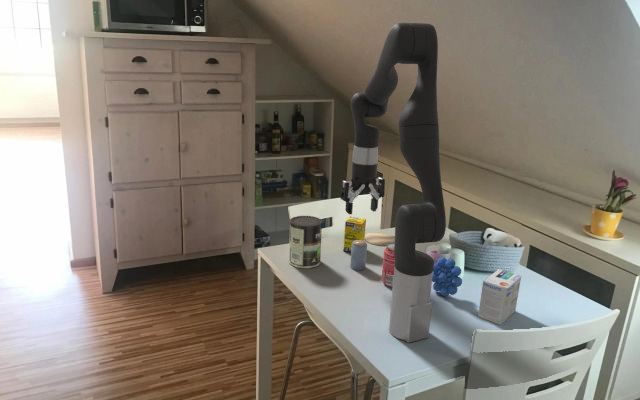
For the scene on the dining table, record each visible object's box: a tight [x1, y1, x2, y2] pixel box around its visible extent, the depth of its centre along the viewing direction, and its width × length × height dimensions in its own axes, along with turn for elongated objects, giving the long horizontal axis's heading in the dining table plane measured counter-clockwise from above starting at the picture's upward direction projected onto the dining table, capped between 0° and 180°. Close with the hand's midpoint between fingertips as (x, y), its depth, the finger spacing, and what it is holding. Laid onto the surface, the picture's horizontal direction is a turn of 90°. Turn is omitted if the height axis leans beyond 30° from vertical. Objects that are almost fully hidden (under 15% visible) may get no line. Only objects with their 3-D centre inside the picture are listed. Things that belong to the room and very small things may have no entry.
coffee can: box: [288, 215, 323, 269], centre depth 169 cm, size 10×10×14 cm
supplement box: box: [342, 216, 367, 253], centre depth 181 cm, size 6×6×11 cm
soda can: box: [381, 243, 395, 288], centre depth 157 cm, size 7×7×12 cm
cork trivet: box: [364, 231, 395, 247], centre depth 193 cm, size 12×12×1 cm
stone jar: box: [349, 240, 368, 272], centre depth 168 cm, size 5×5×9 cm
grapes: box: [432, 257, 463, 297], centre depth 151 cm, size 12×7×12 cm, turn 32°
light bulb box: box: [477, 268, 522, 326], centre depth 142 cm, size 11×7×11 cm, turn 141°
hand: (361, 212), depth 163 cm, fingers open, 8 cm apart
